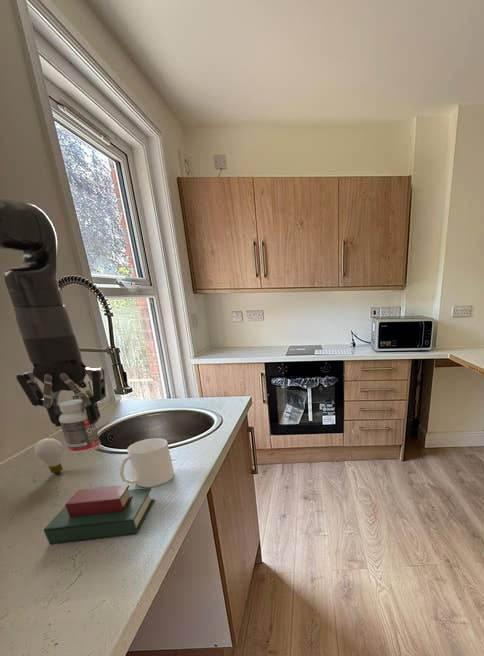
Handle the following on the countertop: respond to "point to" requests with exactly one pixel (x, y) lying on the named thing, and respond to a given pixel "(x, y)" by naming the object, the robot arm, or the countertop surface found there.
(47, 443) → the light bulb
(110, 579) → the countertop surface
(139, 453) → the mug
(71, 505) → the pocket book
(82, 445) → the pill bottle
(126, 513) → the hardback
